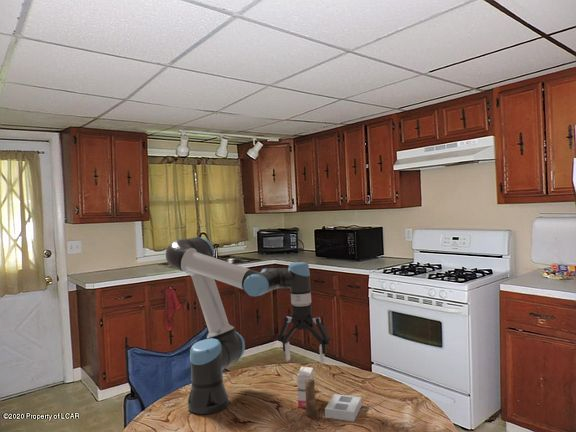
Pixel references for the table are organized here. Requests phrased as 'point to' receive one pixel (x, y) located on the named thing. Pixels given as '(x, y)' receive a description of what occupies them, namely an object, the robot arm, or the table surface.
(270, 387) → the table surface
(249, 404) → the table surface
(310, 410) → the walnut peg
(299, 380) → the ink box
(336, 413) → the socket board
